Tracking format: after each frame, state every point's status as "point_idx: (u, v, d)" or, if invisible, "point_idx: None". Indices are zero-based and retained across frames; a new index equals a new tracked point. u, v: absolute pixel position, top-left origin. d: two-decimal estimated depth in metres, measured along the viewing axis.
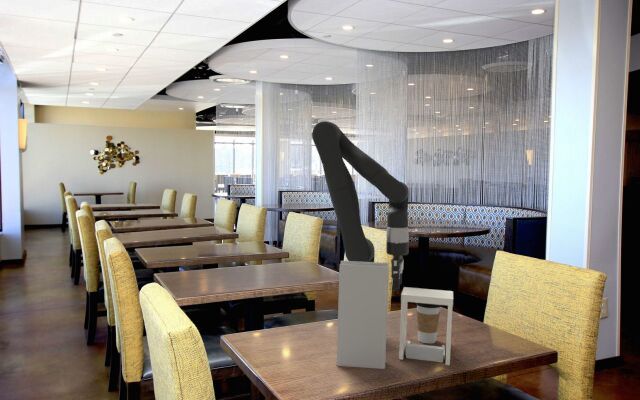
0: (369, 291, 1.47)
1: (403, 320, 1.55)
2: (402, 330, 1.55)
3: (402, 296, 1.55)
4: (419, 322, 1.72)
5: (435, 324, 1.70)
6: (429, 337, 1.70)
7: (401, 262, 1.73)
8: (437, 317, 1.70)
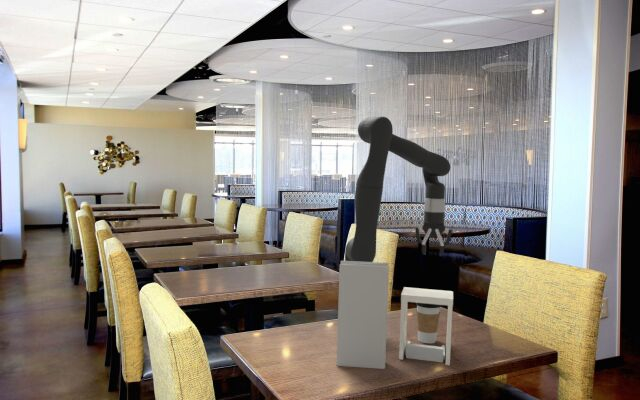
0: (369, 291, 1.47)
1: (403, 320, 1.55)
2: (402, 330, 1.55)
3: (402, 296, 1.55)
4: (419, 322, 1.72)
5: (435, 324, 1.70)
6: (429, 337, 1.70)
7: None
8: (437, 317, 1.70)
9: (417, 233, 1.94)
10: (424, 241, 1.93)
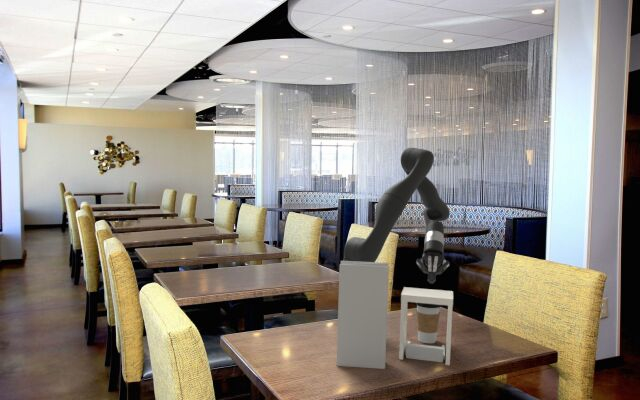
0: (369, 291, 1.47)
1: (403, 320, 1.55)
2: (402, 330, 1.55)
3: (402, 296, 1.55)
4: (419, 322, 1.72)
5: (435, 324, 1.70)
6: (429, 337, 1.70)
7: None
8: (437, 317, 1.70)
9: (420, 263, 1.97)
10: (430, 268, 1.95)
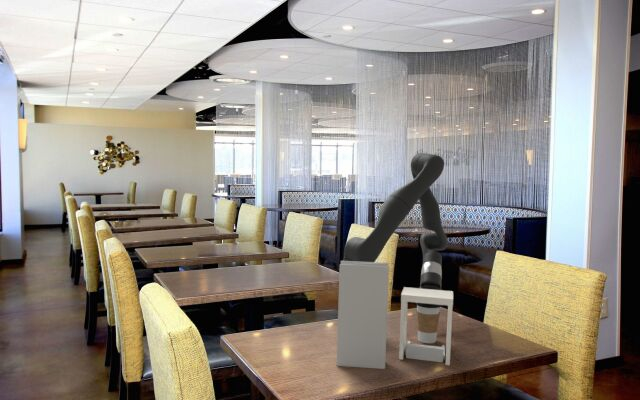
0: (369, 291, 1.47)
1: (403, 320, 1.55)
2: (402, 330, 1.55)
3: (402, 296, 1.55)
4: (419, 322, 1.72)
5: (435, 324, 1.70)
6: (429, 337, 1.70)
7: None
8: (437, 317, 1.70)
9: None
10: None
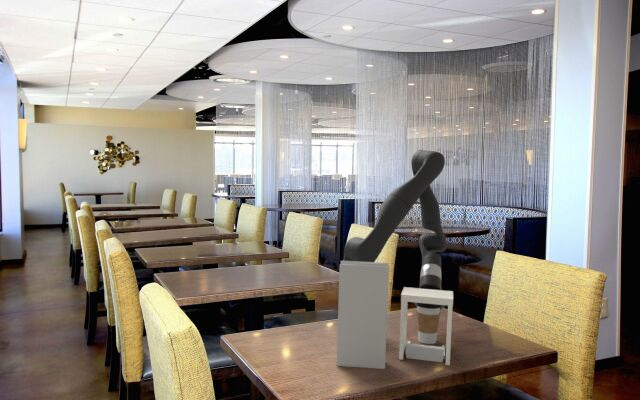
0: (369, 291, 1.47)
1: (403, 320, 1.55)
2: (402, 330, 1.55)
3: (402, 296, 1.55)
4: (419, 322, 1.71)
5: (435, 325, 1.70)
6: (429, 338, 1.70)
7: None
8: (437, 318, 1.70)
9: None
10: None
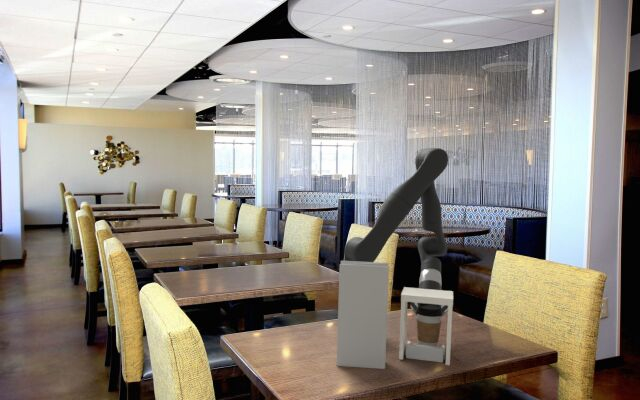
0: (369, 291, 1.47)
1: (403, 320, 1.55)
2: (402, 330, 1.55)
3: (402, 296, 1.55)
4: (419, 331, 1.62)
5: (436, 334, 1.61)
6: None
7: None
8: (438, 326, 1.61)
9: (415, 307, 1.72)
10: None
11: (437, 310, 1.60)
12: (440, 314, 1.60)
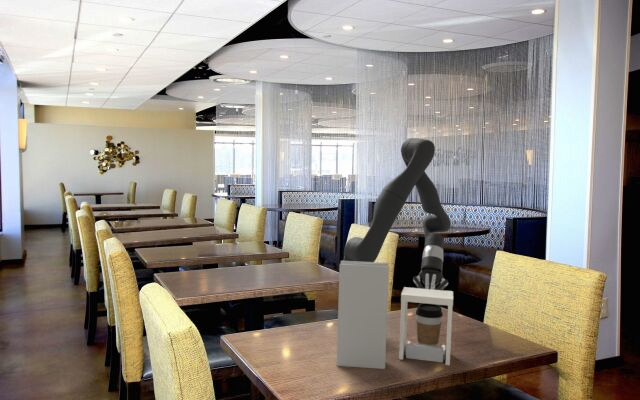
0: (369, 291, 1.47)
1: (403, 320, 1.55)
2: (402, 330, 1.55)
3: (402, 296, 1.55)
4: (419, 333, 1.61)
5: (436, 335, 1.59)
6: None
7: None
8: (438, 327, 1.59)
9: (417, 281, 1.85)
10: (427, 288, 1.83)
11: (437, 311, 1.58)
12: (440, 315, 1.59)
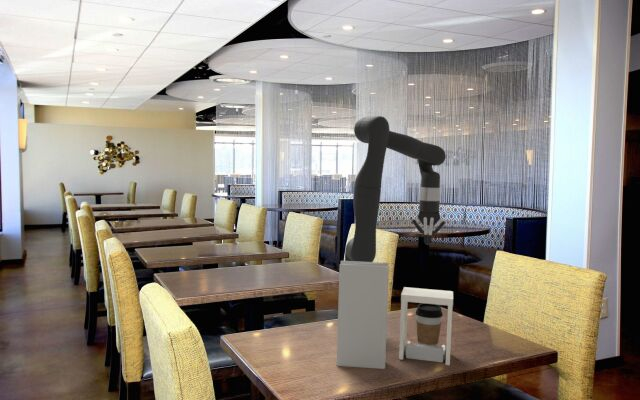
0: (369, 291, 1.47)
1: (403, 320, 1.55)
2: (402, 330, 1.55)
3: (402, 296, 1.55)
4: (419, 333, 1.61)
5: (436, 335, 1.59)
6: None
7: None
8: (438, 327, 1.59)
9: (416, 225, 1.96)
10: (426, 231, 1.95)
11: (437, 311, 1.58)
12: (440, 315, 1.59)
